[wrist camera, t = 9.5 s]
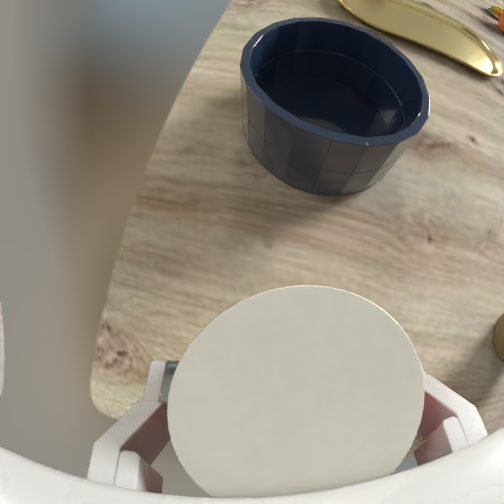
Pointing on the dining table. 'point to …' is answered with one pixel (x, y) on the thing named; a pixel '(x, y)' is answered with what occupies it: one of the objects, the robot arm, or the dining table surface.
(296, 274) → the dining table surface
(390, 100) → the pot
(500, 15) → the toy tea set
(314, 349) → the disc
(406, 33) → the serving platter
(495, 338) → the squeeze bottle
